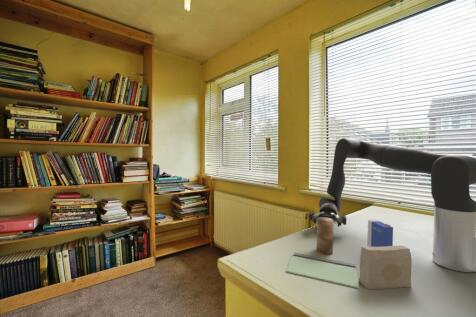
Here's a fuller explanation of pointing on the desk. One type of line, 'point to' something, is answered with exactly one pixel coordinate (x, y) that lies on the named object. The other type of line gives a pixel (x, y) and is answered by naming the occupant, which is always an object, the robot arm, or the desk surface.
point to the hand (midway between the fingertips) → (326, 222)
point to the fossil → (385, 267)
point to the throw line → (325, 260)
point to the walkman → (379, 234)
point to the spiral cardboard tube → (325, 235)
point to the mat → (324, 271)
